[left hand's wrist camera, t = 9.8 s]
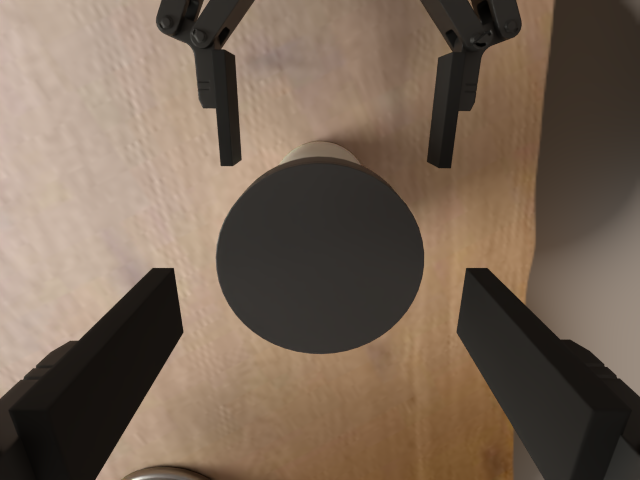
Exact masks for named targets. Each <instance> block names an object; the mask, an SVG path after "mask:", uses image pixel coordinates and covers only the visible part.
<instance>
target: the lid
mask: <svg viewBox="0 0 640 480" xmlns="http://www.w3.org/2000/svg"><path fill="white" fill-rule="evenodd" d="M423 268H424V249H423V241H422V237H421V234H420V230H419V227H418V225H417V223H416V221H415V218H414V216H413V214H412V213H411V211H410V210H409V208H408V207H407V205H406V204H405V203H404V201H403V200H402V199H401V198H400V197H399V196H398V194H397V193H396V192H395V191H394V190H393V189H392V187H391V186H390V185H389V184H388V183H387V182H386V181H384V180H383V179H382V178H381V177H380V176H378V175H377V174H375V173H374V172H372V171H371V170H369V169H368V168H365V167H363V166H361V165H359V164H357V163H354V162H351V161H348V160H345V159H339V158H334V157H320V156H317V157H306V158H300V159H296V160H292V161H289V162H286V163H283V164H281V165H278V166H277V167H275V168H273V169H271V170H269V171H267V172H266V173H265V174H263V175H262V176H260V177H259V178H258V179H257V180H255V181H254V182H253V183H252V184H251V185H250V186H249V187H248V188H247V190H246V191H245V192H244V193H243V194H242V195H241V196H240V198H239V199H238V200H237V202H236V203H235V204H234V205H233V207H232V208H231V210H230V211H229V213H228V215H227V217H226V218H225V220H224V223H223V225H222V228H221V230H220V233H219V238H218V242H217V249H216V269H217V275H218V279H219V283H220V286H221V289H222V292H223V294H224V296H225V298H226V300H227V302H228V304H229V306H230V307H231V309H232V310H233V311H234V313H235V314H236V315H237V317H238V318H239V319H240V320H241V321H242V322H243V323H244V324H245V325H246V326H247V327H248V328H249V329H251V330H252V331H253V332H254V333H256V334H257V335H259V336H260V337H262V338H263V339H265V340H267V341H269V342H271V343H273V344H275V345H277V346H280V347H283V348H285V349H289V350H293V351H297V352H303V353H310V354H328V353H337V352H343V351H348V350H351V349H354V348H358V347H360V346H363V345H365V344H367V343H370V342H371V341H373V340H375V339H377V338H378V337H380V336H381V335H383V334H384V333H386V332H387V331H388V330H390V329H391V328H392V327H393V326H394V325H395V324H396V323H397V322H398V321H399V320H400V319H401V318H402V317H403V315H404V314H405V313H406V312H407V310H408V309H409V307H410V305H411V304H412V302H413V301H414V298H415V296H416V294H417V292H418V290H419V286H420V283H421V280H422V275H423Z"/></svg>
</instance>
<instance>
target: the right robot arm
mask: <svg viewBox="0 0 640 480" xmlns="http://www.w3.org/2000/svg"><path fill="white" fill-rule="evenodd" d="M203 1H204V0H162V1H161V4H160V7H159V11H158V14H157V17H156V23H157V27H158V28H159V30H160V31H161V32H162V33H164V34H166V35H168V36H170V37H173V38H175V39H177V40H179V41H182V42H184V43H187V44H188V45H189V46H190V47H191V48H192V50H193V52H194V56H195V65H196V75H197V85H198V96H199V101H200V103H201V105H202V107H203V108H216V114H217V126H218V138H219V150H220V162H221V166H234V165H235V164H236V163H238V162H239V161H241V160H242V159H241V144H240V128H239V112H238V96H237V81H236V65H235V55H233V54H231V53H230V52H228V51H226V50H221V48H222V47H223V45H224V44H225V43H226V41H227V40H228V38H229V37H230V35H231V34H232V32H233V31H234V29H235V28H236V27H237V25H238V24H239V22H240V21H241V19H242V18H243V16H244V15H245V14H246V12H247V11H248V9H249V8H250V6H251V5H252V3H253V2H254V0H210V1H209V3H208V4H207V6H206V7H205V9H204V10H203V12H202V13H201V15H200V16H199V18H198V15H199V12H200V10H201V7H202V4H203ZM420 1H421V2H422V4H423V5H424V7H425V9H426V10H427V12H428V13H429V15H430V17H431V18H432V20H433V21H434V23H435V24H436V26H437V28H438V29H439V31H440V32H441V34H442V36H443V37H444V39H445V40H446V42H447V43H448V45H449V47H450V48H451V50H452V51H453V52H452V53H449V54H447V55H444V56H441V57H439V58H438V66H437V75H436V84H435V93H434V102H433V111H432V120H431V130H430V139H429V148H428V157H427V162H428V163H430V164H432V165H434V166H436V167H438V168H451V163H452V155H453V148H454V140H455V133H456V125H457V118H458V111H470V110H471V108H472V106H473V105H474V103H475V97H476V90H477V83H478V76H479V69H480V63H481V57H482V55H483V53H484V51H485V50H486V49H487V48H488V47H490V46H492V45H495V44H497V43H500V42H503V41H505V40H508V39H510V38H513V37H515V36H516V35H518V33H519V32H520V30H521V26H522V23H521V18H520V14H519V10H518V6H517V2H516V0H471V2H472V5H473V9H474V10H473V9H472V7H471V5H470V3H469V2H468V0H420ZM197 18H198V19H197Z"/></svg>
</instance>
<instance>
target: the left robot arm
mask: <svg viewBox="0 0 640 480" xmlns="http://www.w3.org/2000/svg"><path fill="white" fill-rule="evenodd" d="M182 334H183V326H182V319H181V313H180V306H179V300H178V293H177V286H176V280H175V273H174V268H152V269H151V270H150V271H149V272H148V273H147V274H146V275H145V276H144V277H143V278H142V279H141V280H140V281H139V282H138V283H137V284H136V285H135V286H134V287H133V288H132V289H131V290H130V291H129V292H128V293H127V294H126V295H125V296H124V297H123V298H122V299H121V300H120V301H119V302H118V303H117V304H116V305H115V306H114V307H113V308H112V309H110V310H109V311H108V312H107V313H106V314H105V315H104V316H103V317H102V318H101V319H100V320H99V321H98V322H97V323H96V324H95V325H94V326H93V327H92V328H91V329H90V330H89V331H88V332H87V333H86V334H85V335H84V336H83V337H82V338H81V339H80V340H79V341H69V342H67V343H66V344H64V345H62V346H61V347H59V348H57V349H55V350H54V351H52V352H50V353H49V354H48V355H47V356H46V357H45V358H44V359H43V360H42V361H41V362H40V363H39V364H37V365H36V368H33V369H32V370H31V371H30V372H29V373H28V374H27V375H26V376H24V379H23V380H20V381H19V382H18V383H17V384H16V385H15V386H14V387H12V388H11V389H10V390H9V391H8V392H7V393H6V394H5V395H4V396H3V397H2V398H1V399H0V480H95V479H96V478H97V476H98V474H99V473H100V471H101V469H102V468H103V466H104V464H105V463H106V461H107V459H108V458H109V456H110V454H111V453H112V451H113V449H114V448H115V446H116V444H117V443H118V441H119V439H120V438H121V436H122V434H123V433H124V431H125V429H126V427H127V426H128V424H129V422H130V421H131V419H132V417H133V416H134V414H135V412H136V411H137V409H138V407H139V406H140V404H141V402H142V401H143V399H144V397H145V396H146V394H147V392H148V391H149V389H150V387H151V386H152V384H153V382H154V381H155V379H156V377H157V376H158V374H159V372H160V371H161V369H162V367H163V366H164V364H165V362H166V361H167V359H168V357H169V356H170V354H171V352H172V351H173V349H174V347H175V346H176V344H177V342H178V341H179V339H180V337H181V336H182ZM457 334H458V336H459V337H460V339H461V341H462V342H463V344H464V346H465V347H466V349H467V351H468V352H469V354H470V356H471V357H472V359H473V361H474V362H475V364H476V366H477V367H478V369H479V371H480V372H481V374H482V376H483V377H484V379H485V381H486V382H487V384H488V386H489V387H490V389H491V391H492V392H493V394H494V396H495V397H496V399H497V401H498V402H499V404H500V406H501V407H502V409H503V411H504V412H505V414H506V416H507V417H508V419H509V421H510V422H511V424H512V426H513V428H514V429H515V431H516V432H517V434H518V436H519V438H520V439H521V441H522V442H523V444H524V446H525V448H526V449H527V451H528V453H529V454H530V456H531V458H532V459H533V461H534V463H535V464H536V466H537V468H538V469H539V471H540V473H541V474H542V476H543V478H544V479H545V480H640V397H639V396H638V395H637V394H636V393H635V392H634V391H633V390H632V389H631V388H629V387H628V386H627V385H626V384H625V383H624V382H623V381H622V380H621V379H617V377H616V375H615V374H614V373H613V372H612V371H611V370H610V369H609V368H608V367H605V366H604V364H603V363H602V362H601V361H600V360H599V359H598V358H597V357H596V356H595V355H593V354H592V353H591V352H590V351H589V350H587V349H585V348H584V347H582V346H580V345H578V344H577V343H575V342H573V341H572V340H560V339H559V338H558V337H557V336H556V335H555V334H554V333H553V332H552V331H551V330H550V329H549V328H548V327H547V326H546V325H545V324H544V323H543V322H542V321H541V320H540V319H539V318H538V317H537V316H536V315H535V314H534V313H533V312H532V311H531V310H530V309H528V308H527V307H526V306H525V305H524V304H523V303H522V302H521V301H520V300H519V299H518V298H517V297H516V296H515V295H514V294H513V293H512V292H511V291H510V290H509V289H508V288H507V287H506V286H505V285H504V284H503V283H502V282H501V281H500V280H499V279H498V278H497V277H496V276H495V275H494V274H493V273H492V272H491V271H490V270H489V269H488V268H466V273H465V280H464V286H463V293H462V300H461V306H460V313H459V319H458V326H457ZM122 480H210V479H208V478H206V477H205V476H203V475H200V474H198V473H195V472H192V471H189V470H185V469H180V468H174V467H153V468H147V469H142V470H139V471H136V472H134V473H131V474H129V475H127V476H126V477H124V478H123V479H122Z"/></svg>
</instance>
